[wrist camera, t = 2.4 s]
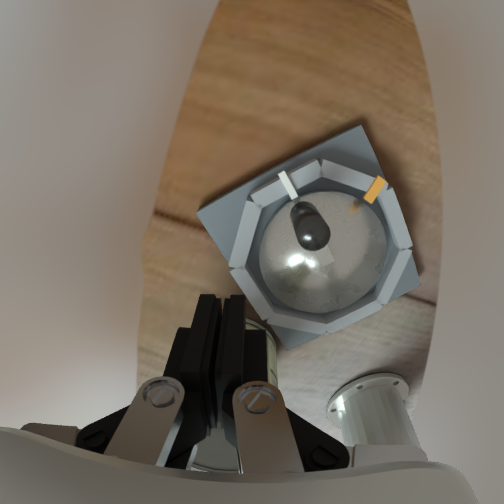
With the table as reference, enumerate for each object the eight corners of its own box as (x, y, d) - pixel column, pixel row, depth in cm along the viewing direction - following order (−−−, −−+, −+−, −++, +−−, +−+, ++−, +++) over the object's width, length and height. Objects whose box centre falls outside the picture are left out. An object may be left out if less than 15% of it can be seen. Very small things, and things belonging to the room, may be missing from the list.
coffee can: (204, 382, 37) (187, 475, 24) (178, 321, 33) (142, 420, 20) (283, 374, 36) (289, 471, 23) (269, 308, 32) (273, 415, 19)
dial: (396, 273, 29) (421, 304, 23) (294, 324, 31) (300, 364, 26) (354, 166, 25) (379, 178, 19) (234, 228, 27) (228, 256, 22)
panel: (416, 279, 30) (427, 292, 28) (286, 343, 34) (287, 360, 31) (357, 125, 25) (367, 124, 22) (198, 209, 28) (191, 218, 25)
